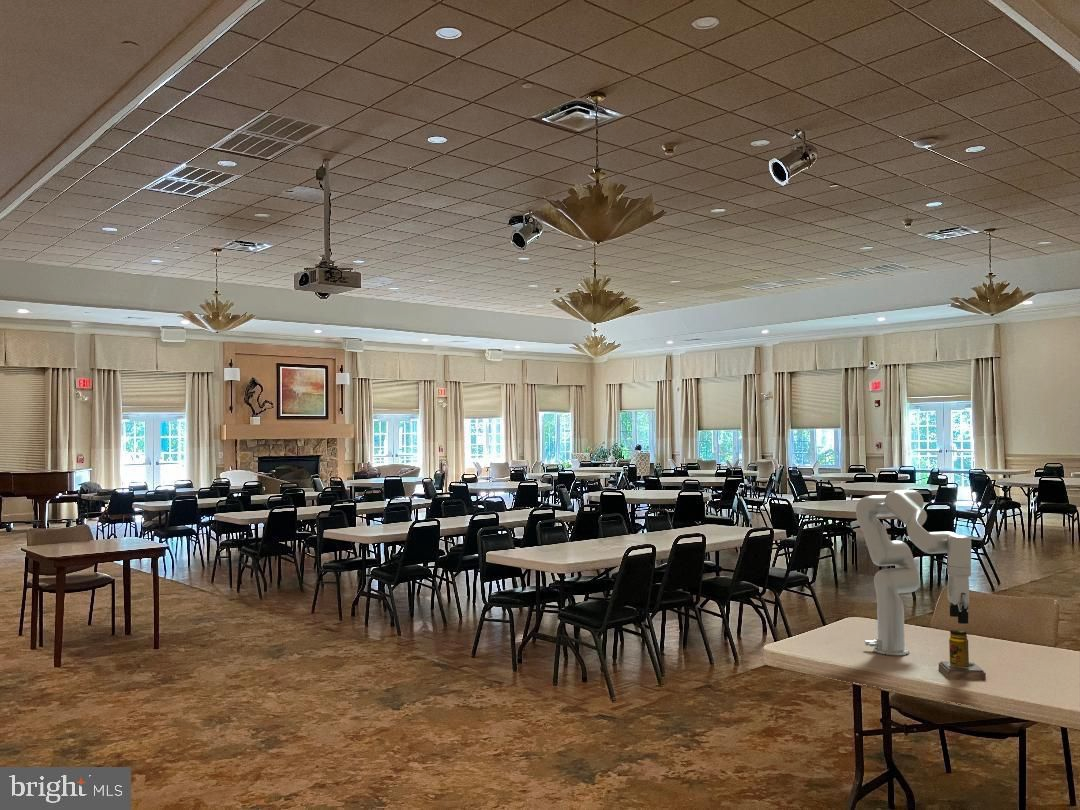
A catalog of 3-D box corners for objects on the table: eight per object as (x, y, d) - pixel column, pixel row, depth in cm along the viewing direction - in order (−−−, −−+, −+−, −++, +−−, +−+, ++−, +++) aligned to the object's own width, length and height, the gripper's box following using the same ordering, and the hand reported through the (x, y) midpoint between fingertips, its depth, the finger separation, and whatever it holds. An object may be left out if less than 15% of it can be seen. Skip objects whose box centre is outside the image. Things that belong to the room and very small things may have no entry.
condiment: (945, 666, 314) (945, 631, 315) (952, 661, 321) (952, 627, 321) (968, 669, 310) (967, 634, 310) (975, 664, 316) (974, 629, 317)
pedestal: (948, 678, 309) (948, 669, 309) (938, 669, 321) (938, 660, 321) (985, 679, 307) (985, 670, 307) (974, 670, 319) (974, 661, 319)
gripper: (940, 565, 324) (940, 613, 325) (954, 575, 307) (954, 625, 308) (963, 566, 323) (962, 614, 323) (978, 576, 306) (978, 626, 306)
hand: (958, 619), depth 315 cm, fingers open, 9 cm apart
